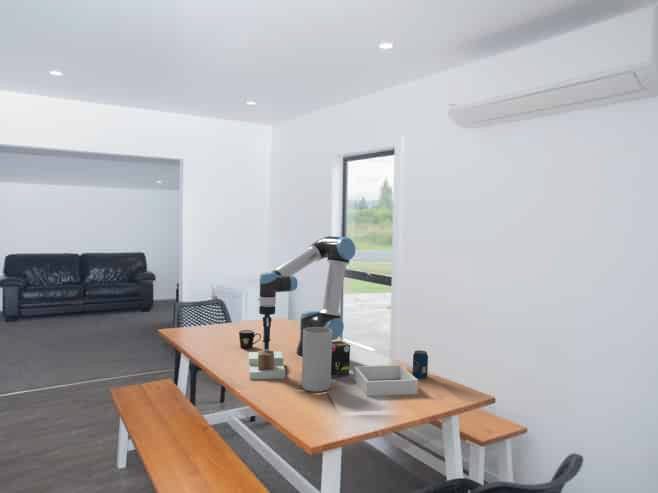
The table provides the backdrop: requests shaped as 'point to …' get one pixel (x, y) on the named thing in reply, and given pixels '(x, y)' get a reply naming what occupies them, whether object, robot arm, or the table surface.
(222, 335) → the table surface
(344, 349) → the tampon box
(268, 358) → the cube
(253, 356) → the steps
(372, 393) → the tray
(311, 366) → the cylinder vase
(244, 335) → the coffee mug
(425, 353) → the soda can
